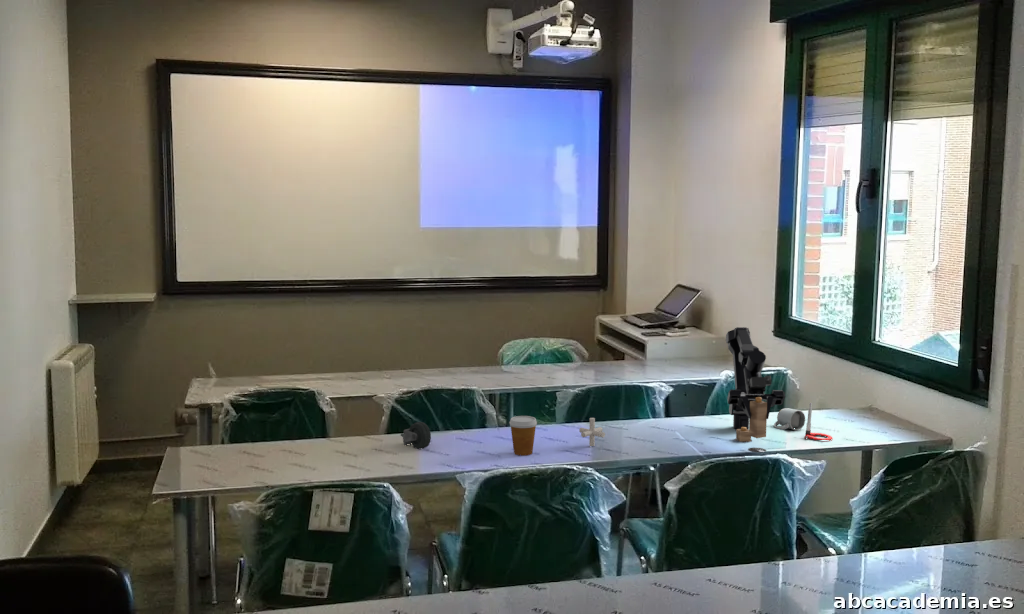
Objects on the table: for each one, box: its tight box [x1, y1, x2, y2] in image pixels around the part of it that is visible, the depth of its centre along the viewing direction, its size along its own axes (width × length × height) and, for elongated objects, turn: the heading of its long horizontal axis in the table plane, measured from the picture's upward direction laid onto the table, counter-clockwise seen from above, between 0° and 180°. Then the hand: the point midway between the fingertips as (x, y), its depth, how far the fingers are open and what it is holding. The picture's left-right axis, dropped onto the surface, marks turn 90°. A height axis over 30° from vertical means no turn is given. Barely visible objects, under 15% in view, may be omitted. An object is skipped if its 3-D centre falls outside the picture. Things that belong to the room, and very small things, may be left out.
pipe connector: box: [579, 417, 606, 447], centre depth 310 cm, size 10×10×10 cm
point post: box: [749, 397, 768, 439], centre depth 302 cm, size 4×4×14 cm
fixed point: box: [735, 427, 752, 443], centre depth 315 cm, size 4×4×4 cm
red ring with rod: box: [804, 402, 833, 441], centre depth 320 cm, size 8×13×9 cm
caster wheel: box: [400, 421, 432, 449], centre depth 310 cm, size 6×10×15 cm
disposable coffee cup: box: [508, 415, 538, 456], centre depth 301 cm, size 10×10×12 cm
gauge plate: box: [734, 438, 767, 453], centre depth 309 cm, size 21×11×1 cm, turn 6°
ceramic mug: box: [773, 407, 806, 431], centre depth 334 cm, size 11×8×8 cm
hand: (758, 418), depth 300 cm, fingers closed on point post, 5 cm apart
